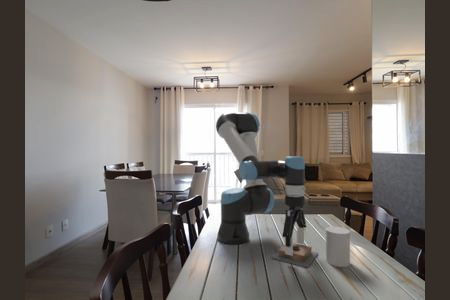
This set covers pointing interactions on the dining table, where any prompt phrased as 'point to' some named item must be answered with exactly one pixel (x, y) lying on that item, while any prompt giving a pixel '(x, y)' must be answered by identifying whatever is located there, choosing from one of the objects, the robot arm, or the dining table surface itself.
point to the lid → (296, 252)
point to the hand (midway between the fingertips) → (295, 248)
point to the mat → (304, 264)
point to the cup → (338, 246)
